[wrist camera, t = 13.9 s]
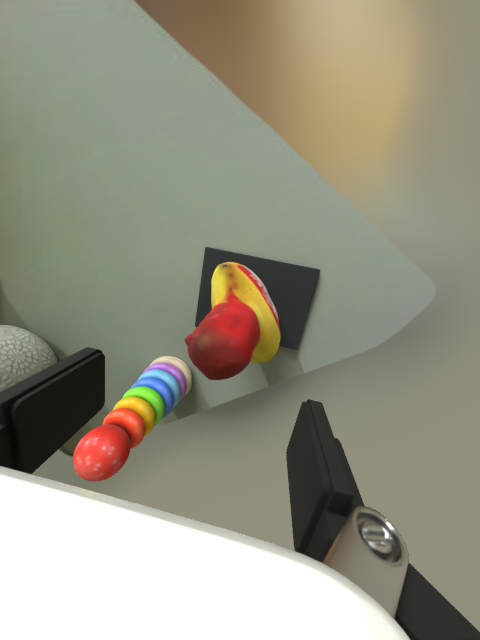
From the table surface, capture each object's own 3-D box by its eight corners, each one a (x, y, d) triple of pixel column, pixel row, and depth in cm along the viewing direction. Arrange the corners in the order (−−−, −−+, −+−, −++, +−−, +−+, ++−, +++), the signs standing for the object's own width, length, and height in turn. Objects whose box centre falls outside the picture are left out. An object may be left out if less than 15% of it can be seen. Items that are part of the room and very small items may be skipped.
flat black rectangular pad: (196, 325, 36) (194, 326, 35) (206, 247, 32) (205, 247, 31) (296, 348, 34) (296, 350, 34) (319, 269, 31) (320, 269, 30)
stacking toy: (203, 375, 38) (141, 482, 20) (177, 403, 40) (100, 520, 23) (167, 345, 37) (69, 427, 20) (142, 375, 40) (36, 473, 22)
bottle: (216, 268, 32) (132, 289, 13) (258, 251, 31) (232, 247, 12) (245, 342, 35) (211, 450, 16) (286, 330, 33) (301, 433, 14)
